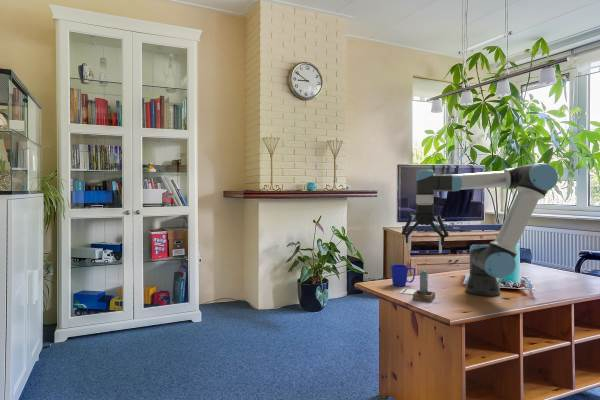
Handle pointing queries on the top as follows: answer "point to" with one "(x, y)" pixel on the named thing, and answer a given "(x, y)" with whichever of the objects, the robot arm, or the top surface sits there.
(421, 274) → the marker
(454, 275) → the top surface
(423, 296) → the tray
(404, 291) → the paper
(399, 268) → the mug
